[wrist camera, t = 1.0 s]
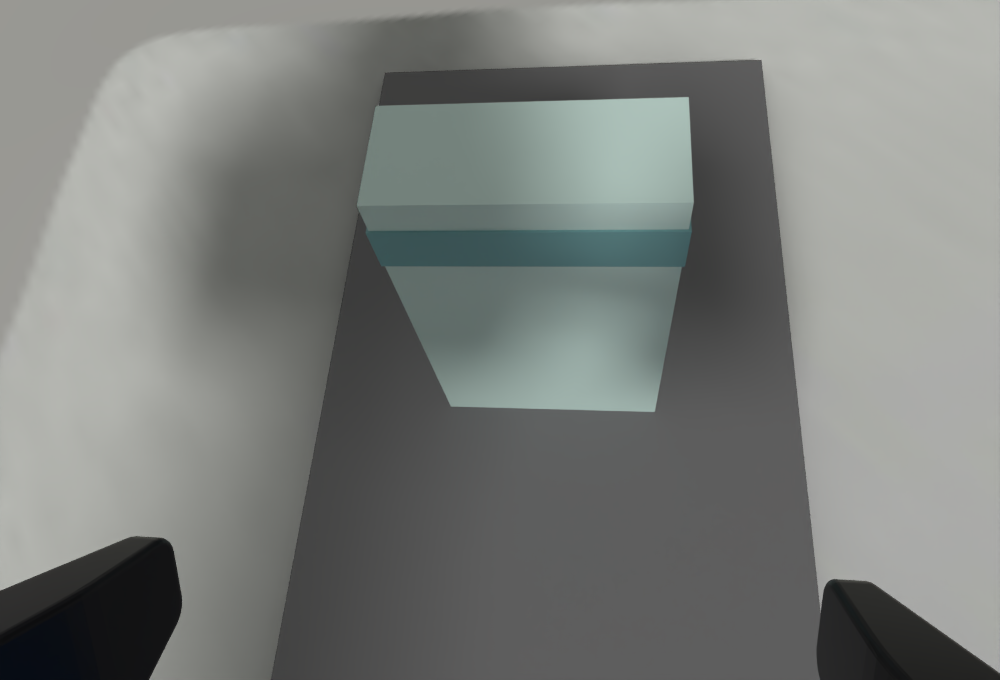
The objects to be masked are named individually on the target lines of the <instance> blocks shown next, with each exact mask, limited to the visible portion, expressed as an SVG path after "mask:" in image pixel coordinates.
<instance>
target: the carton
mask: <svg viewBox="0 0 1000 680" xmlns="http://www.w3.org/2000/svg"><path fill="white" fill-rule="evenodd" d="M693 204H694V196H693V176H692V155H691V134H690V113H689V97H675V98H639V99H603V100H568V101H532V102H496V103H460V104H425V105H389V106H376V107H375V112H374V117H373V122H372V128H371V133H370V138H369V143H368V149H367V154H366V159H365V164H364V170H363V175H362V180H361V185H360V191H359V196H358V201H357V208H358V210H359V212H360V214H361V216H362V218H363V221H364V223H365V225H366V227H367V228H366V235H367V237H368V239H369V242H370V244H371V246H372V248H373V250H374V252H375V254H376V256H377V258H378V260H379V262H380V265H381V266H385V267H386V270H387V272H388V274H389V276H390V278H391V280H392V282H393V284H394V287H395V289H396V291H397V293H398V295H399V297H400V299H401V301H402V304H403V306H404V308H405V310H406V312H407V314H408V316H409V318H410V321H411V323H412V325H413V327H414V329H415V331H416V333H417V335H418V338H419V340H420V342H421V344H422V346H423V348H424V350H425V352H426V355H427V357H428V359H429V361H430V363H431V365H432V367H433V369H434V372H435V374H436V376H437V378H438V380H439V382H440V384H441V387H442V389H443V391H444V393H445V395H446V397H447V399H448V401H449V404H450V406H451V407H487V408H525V409H562V410H599V411H636V412H655V408H656V402H657V397H658V392H659V386H660V381H661V376H662V370H663V365H664V360H665V354H666V349H667V344H668V338H669V333H670V327H671V322H672V317H673V311H674V306H675V301H676V295H677V290H678V285H679V279H680V274H681V269H682V267H685V264H686V259H687V254H688V248H689V243H690V238H691V233H692V226H691V215H692V210H693Z"/></svg>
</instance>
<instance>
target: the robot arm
mask: <svg viewBox="0 0 1000 680" xmlns="http://www.w3.org/2000/svg"><path fill="white" fill-rule="evenodd" d="M181 609H182V595H181V590H180V584H179V578H178V573H177V567H176V561H175V556H174V551H173V547H172V545H171V544H170V542H169V541H167V540H166V539H164V538H156V537H140V536H135V537H129V538H127V539H124V540H122V541H119V542H117V543H114V544H112V545H110V546H107V547H105V548H102V549H100V550H98V551H95V552H93V553H90V554H88V555H85V556H83V557H81V558H78V559H76V560H73V561H71V562H69V563H66V564H64V565H61V566H59V567H56V568H54V569H52V570H49V571H47V572H44V573H42V574H40V575H37V576H35V577H32V578H30V579H27V580H25V581H23V582H20V583H18V584H15V585H13V586H11V587H8V588H6V589H3V590H1V591H0V680H149V678H150V676H151V674H152V672H153V670H154V668H155V666H156V664H157V662H158V661H159V659H160V657H161V655H162V653H163V651H164V649H165V647H166V645H167V643H168V641H169V639H170V637H171V635H172V633H173V631H174V629H175V627H176V625H177V622H178V620H179V617H180V614H181ZM816 656H817V667H818V673H819V678H820V680H1000V673H999V672H997V671H996V670H994V669H993V668H992V667H990V666H989V665H987V664H986V663H985V662H983V661H982V660H980V659H979V658H978V657H976V656H975V655H973V654H972V653H971V652H969V651H968V650H966V649H965V648H963V647H962V646H961V645H959V644H958V643H956V642H955V641H954V640H952V639H951V638H949V637H948V636H947V635H945V634H944V633H942V632H941V631H939V630H938V629H937V628H935V627H934V626H932V625H931V624H930V623H928V622H927V621H925V620H924V619H923V618H921V617H920V616H918V615H917V614H916V613H914V612H913V611H911V610H910V609H908V608H907V607H906V606H904V605H903V604H901V603H900V602H899V601H897V600H896V599H894V598H893V597H892V596H890V595H889V594H887V593H886V592H884V591H883V590H882V589H880V588H879V587H877V586H876V585H874V584H873V583H871V582H867V581H856V580H838V579H833V580H830V581H829V582H828V583H827V584H826V586H825V589H824V592H823V599H822V607H821V615H820V623H819V630H818V638H817V647H816Z"/></svg>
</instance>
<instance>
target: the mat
mask: <svg viewBox="0 0 1000 680" xmlns="http://www.w3.org/2000/svg"><path fill="white" fill-rule="evenodd" d="M675 97H689V113H690V134H691V155H692V176H693V196H694V204H693V210H692V215H691V226H692V233H691V238H690V243H689V248H688V254H687V259H686V264H685V267H682V269H681V274H680V279H679V285H678V290H677V295H676V301H675V306H674V311H673V317H672V322H671V327H670V333H669V338H668V344H667V349H666V354H665V360H664V365H663V370H662V376H661V381H660V386H659V392H658V397H657V402H656V408H655V412H636V411H599V410H562V409H525V408H487V407H451V406H450V404H449V401H448V399H447V397H446V395H445V393H444V391H443V389H442V387H441V384H440V382H439V380H438V378H437V376H436V374H435V372H434V369H433V367H432V365H431V363H430V361H429V359H428V357H427V355H426V352H425V350H424V348H423V346H422V344H421V342H420V340H419V338H418V335H417V333H416V331H415V329H414V327H413V325H412V323H411V321H410V318H409V316H408V314H407V312H406V310H405V308H404V306H403V304H402V301H401V299H400V297H399V295H398V293H397V291H396V289H395V287H394V284H393V282H392V280H391V278H390V276H389V274H388V272H387V270H386V267H385V266H381V265H380V262H379V260H378V258H377V256H376V254H375V252H374V250H373V248H372V246H371V244H370V242H369V239H368V237H367V235H366V228H367V227H366V225H365V223H364V221H363V218H362V216H361V214H360V212H359V215H358V220H357V225H356V231H355V236H354V241H353V247H352V252H351V257H350V263H349V268H348V273H347V279H346V284H345V289H344V295H343V300H342V305H341V310H340V316H339V321H338V326H337V332H336V337H335V342H334V348H333V353H332V358H331V364H330V369H329V374H328V380H327V385H326V390H325V396H324V401H323V406H322V412H321V417H320V422H319V428H318V433H317V438H316V444H315V449H314V454H313V459H312V465H311V470H310V475H309V481H308V486H307V491H306V497H305V502H304V507H303V513H302V518H301V523H300V529H299V534H298V539H297V545H296V550H295V555H294V561H293V566H292V571H291V577H290V582H289V587H288V592H287V598H286V603H285V608H284V614H283V619H282V624H281V630H280V635H279V640H278V646H277V651H276V656H275V662H274V667H273V672H272V678H271V680H820V678H819V673H818V667H817V656H816V647H817V638H818V630H819V623H820V615H821V613H820V604H819V595H818V585H817V576H816V567H815V557H814V548H813V539H812V529H811V520H810V511H809V501H808V492H807V482H806V473H805V464H804V454H803V445H802V436H801V426H800V417H799V408H798V398H797V389H796V379H795V370H794V361H793V351H792V342H791V333H790V323H789V314H788V305H787V295H786V286H785V277H784V267H783V258H782V248H781V239H780V230H779V220H778V211H777V202H776V192H775V183H774V174H773V164H772V155H771V146H770V136H769V127H768V117H767V108H766V99H765V89H764V80H763V71H762V61H761V60H747V61H718V62H688V63H659V64H630V65H600V66H571V67H541V68H512V69H483V70H453V71H424V72H394V73H385V76H384V82H383V87H382V92H381V98H380V103H379V106H389V105H425V104H460V103H496V102H532V101H568V100H603V99H639V98H675Z"/></svg>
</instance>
